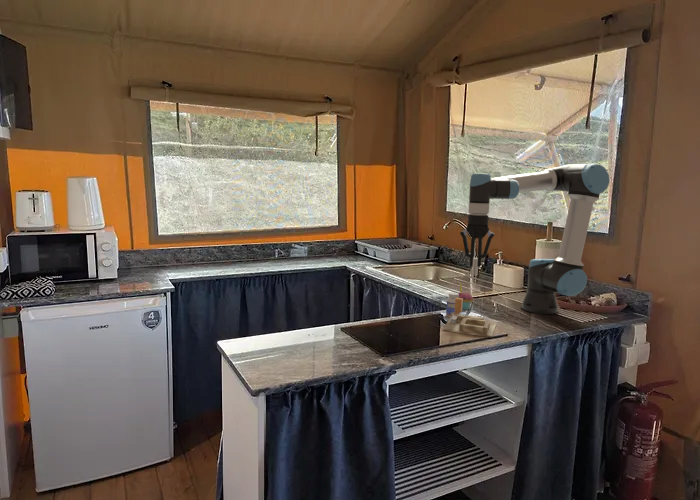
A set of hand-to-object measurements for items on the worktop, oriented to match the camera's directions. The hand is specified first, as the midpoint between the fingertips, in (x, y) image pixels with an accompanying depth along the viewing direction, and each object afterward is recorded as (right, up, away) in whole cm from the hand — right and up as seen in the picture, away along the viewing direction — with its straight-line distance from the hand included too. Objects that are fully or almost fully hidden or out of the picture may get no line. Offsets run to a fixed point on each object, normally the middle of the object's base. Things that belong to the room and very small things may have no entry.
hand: (474, 274), depth 188 cm
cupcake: (+2, -16, +27) cm, 32 cm away
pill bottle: (-6, -18, +14) cm, 24 cm away
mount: (-2, -20, -1) cm, 21 cm away
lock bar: (-8, -17, -1) cm, 19 cm away
